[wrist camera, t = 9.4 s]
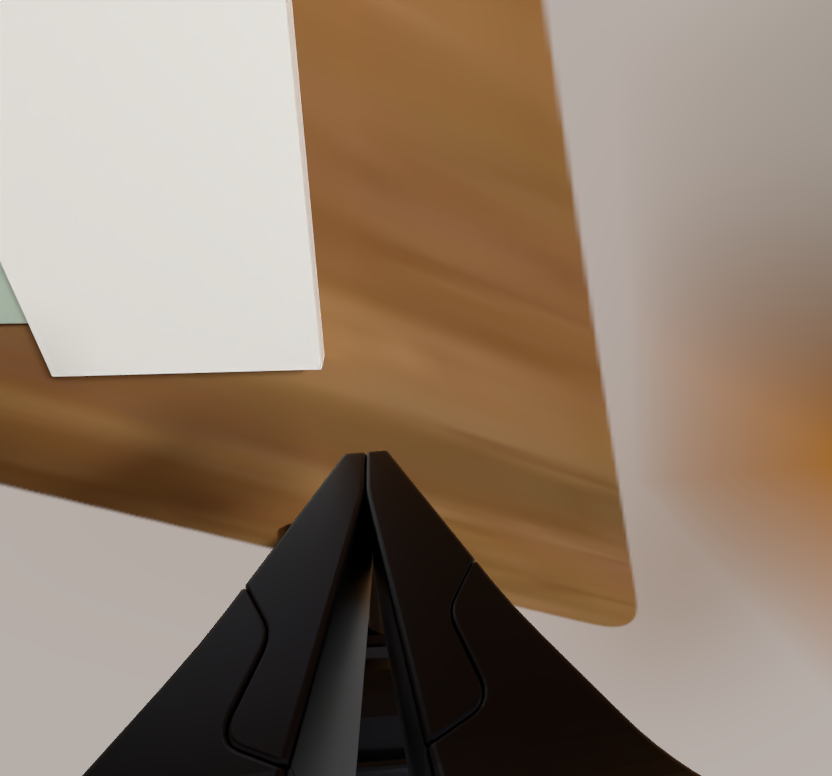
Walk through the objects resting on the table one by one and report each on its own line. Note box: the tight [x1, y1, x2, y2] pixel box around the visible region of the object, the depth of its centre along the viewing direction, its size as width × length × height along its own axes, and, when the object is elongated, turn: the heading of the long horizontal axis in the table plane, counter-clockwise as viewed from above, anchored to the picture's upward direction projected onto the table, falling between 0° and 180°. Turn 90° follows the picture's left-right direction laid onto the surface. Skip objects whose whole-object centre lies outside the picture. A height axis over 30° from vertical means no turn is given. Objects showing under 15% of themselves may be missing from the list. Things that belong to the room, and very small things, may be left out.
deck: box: [0, 0, 325, 377], centre depth 14 cm, size 18×11×2 cm, turn 179°
